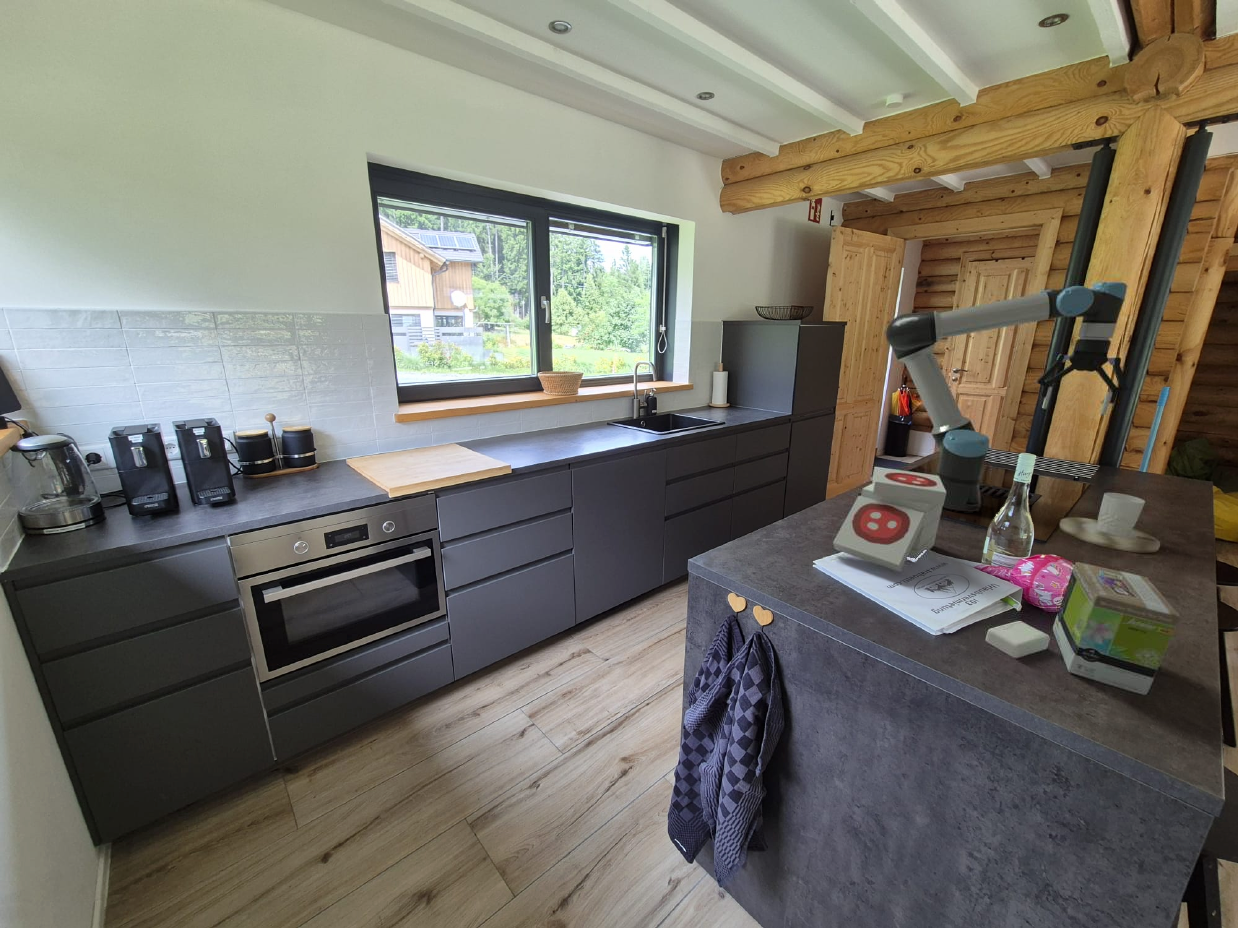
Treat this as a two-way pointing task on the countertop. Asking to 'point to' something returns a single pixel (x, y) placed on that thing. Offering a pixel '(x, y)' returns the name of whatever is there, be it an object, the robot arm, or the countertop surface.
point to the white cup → (1119, 514)
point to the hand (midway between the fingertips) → (1072, 411)
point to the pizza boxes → (893, 518)
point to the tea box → (1114, 627)
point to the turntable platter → (1109, 536)
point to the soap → (1017, 639)
